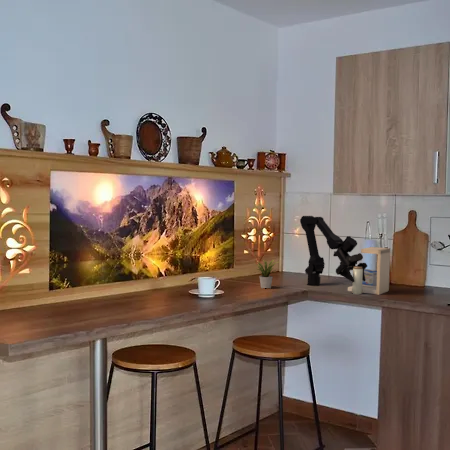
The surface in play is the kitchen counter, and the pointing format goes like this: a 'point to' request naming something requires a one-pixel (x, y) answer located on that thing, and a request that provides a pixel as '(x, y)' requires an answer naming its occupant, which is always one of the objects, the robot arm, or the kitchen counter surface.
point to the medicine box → (370, 277)
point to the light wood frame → (378, 271)
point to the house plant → (266, 274)
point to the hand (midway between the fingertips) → (359, 281)
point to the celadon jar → (357, 280)
